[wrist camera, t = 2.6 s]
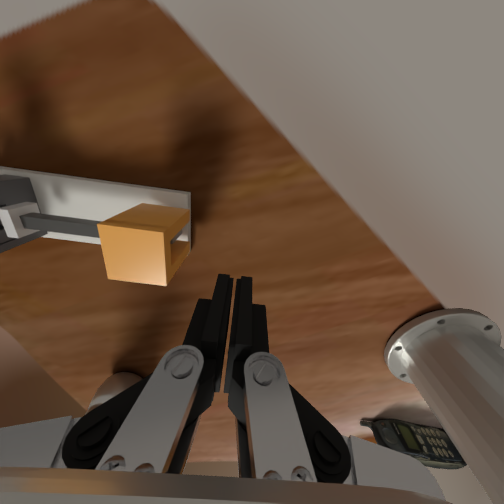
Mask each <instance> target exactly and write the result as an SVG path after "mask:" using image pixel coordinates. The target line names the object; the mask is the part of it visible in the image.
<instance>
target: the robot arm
mask: <svg viewBox="0 0 504 504" xmlns="http://www.w3.org/2000/svg"><path fill="white" fill-rule="evenodd" d="M229 277H230V275H226V274H218V278H217V282H216V286H215V289H214V293H213V297H212V300H210V299H200V298H199V300H198V302H197V305H196V308H195V310H194V313H193V316H192V319H191V322H190V325H189V328H188V330H187V333H186V336H185V339H184V342H183V345H181V346H177V347H175V348H172V349H171V350H170V351H168V352H167V353H166V354H165V355H164V356H163V358H162V359H161V361H160V362H159V364H158V366H157V367H156V369H155V371H154V372H153V373H152V374H150V375H148V376H147V377H145V378H143V379H142V380H140V381H139V382H137V383H135V384H134V385H132V386H130V387H129V388H127V389H126V390H124V391H122V392H121V393H119V394H117V395H116V396H114V397H113V398H111V399H109V400H108V401H106V402H104V403H103V404H101V405H99V406H98V407H96V408H95V409H93V410H91V411H90V412H88V413H87V414H86V415H84V416H83V417H80V418H75V419H74V418H73V416H68V417H62V418H56V419H51V420H45V421H39V422H33V423H28V424H22V425H16V426H11V427H5V428H0V504H452V503H449V502H447V501H446V500H445V497H444V495H443V492H442V490H441V488H440V486H439V484H438V483H437V480H436V479H435V477H434V476H433V475H432V474H431V473H430V471H429V470H428V469H427V468H426V467H425V466H424V465H423V464H422V463H421V462H420V461H419V460H417V459H415V458H413V457H411V456H409V455H406V454H403V453H401V452H398V451H395V450H392V449H389V448H386V447H383V446H380V445H378V444H375V443H372V442H369V441H366V440H363V439H360V438H358V437H355V436H352V435H350V436H349V438H348V437H346V436H343V435H341V434H340V433H339V432H338V430H337V429H336V428H335V427H334V426H333V425H332V424H331V423H330V422H329V421H328V420H326V419H325V418H324V417H323V416H322V415H321V414H320V413H319V412H318V411H317V410H316V409H315V408H314V407H313V406H312V405H311V404H310V403H309V402H308V401H307V400H306V399H305V398H304V397H303V396H302V395H301V394H299V393H298V392H297V391H296V390H295V389H294V388H293V387H292V386H291V385H290V384H289V383H288V380H287V377H286V373H285V370H284V367H283V365H282V363H281V362H280V360H279V359H278V358H277V357H275V356H274V355H272V354H270V353H269V344H268V332H267V319H266V307H265V305H259V304H252V277H245V276H241V279H237V282H236V291H235V299H234V308H233V316H232V325H231V333H230V342H229V350H228V359H227V368H226V376H225V385H224V393H229V396H228V407H229V409H230V410H231V411H232V412H233V414H234V415H235V416H236V417H235V424H236V440H237V455H238V470H239V478H237V477H219V476H202V475H183V471H184V468H185V465H186V462H187V459H188V456H189V453H190V450H191V447H192V443H193V440H194V437H195V434H196V431H197V428H198V425H199V422H200V419H201V414H202V413H203V412H204V411H205V410H206V409H207V408H209V407H210V406H211V403H212V401H213V397H214V392H219V391H220V384H221V376H222V369H223V362H224V354H225V347H226V339H227V332H228V324H229V316H230V307H231V297H232V288H233V278H229ZM500 343H501V333H500V330H499V328H498V326H497V325H496V324H495V323H494V322H493V321H491V320H490V319H489V318H488V317H486V316H485V315H483V314H481V313H480V312H477V311H473V310H469V309H462V308H456V309H444V310H437V311H434V312H430V313H427V314H424V315H422V316H419V317H417V318H415V319H413V320H411V321H410V322H408V323H406V324H405V325H403V326H402V327H401V328H400V329H398V330H397V331H396V332H395V333H394V334H393V335H392V337H391V338H390V340H389V341H388V343H387V345H386V348H385V351H384V358H385V362H386V364H387V366H388V368H389V370H390V371H391V372H392V374H393V375H394V376H396V377H397V378H398V379H400V380H403V381H405V382H408V383H412V384H414V385H415V386H416V388H417V389H418V391H419V392H420V394H421V395H422V397H423V398H424V400H425V401H426V403H427V405H428V406H429V408H430V409H431V411H432V412H433V414H434V415H435V417H436V418H437V420H438V421H439V423H440V424H441V426H442V427H443V429H444V430H445V432H446V433H447V435H448V436H449V438H450V439H451V441H452V442H453V444H454V445H455V447H456V448H457V450H458V451H459V453H460V455H461V456H462V458H463V459H464V461H465V462H466V464H467V465H468V466H469V468H470V469H471V471H472V473H473V474H474V476H475V477H476V479H477V480H478V482H479V483H480V485H481V486H482V488H483V489H484V491H485V492H486V494H487V495H488V497H489V498H490V500H491V501H492V503H493V504H504V349H503V348H502V347H500Z"/></svg>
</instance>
